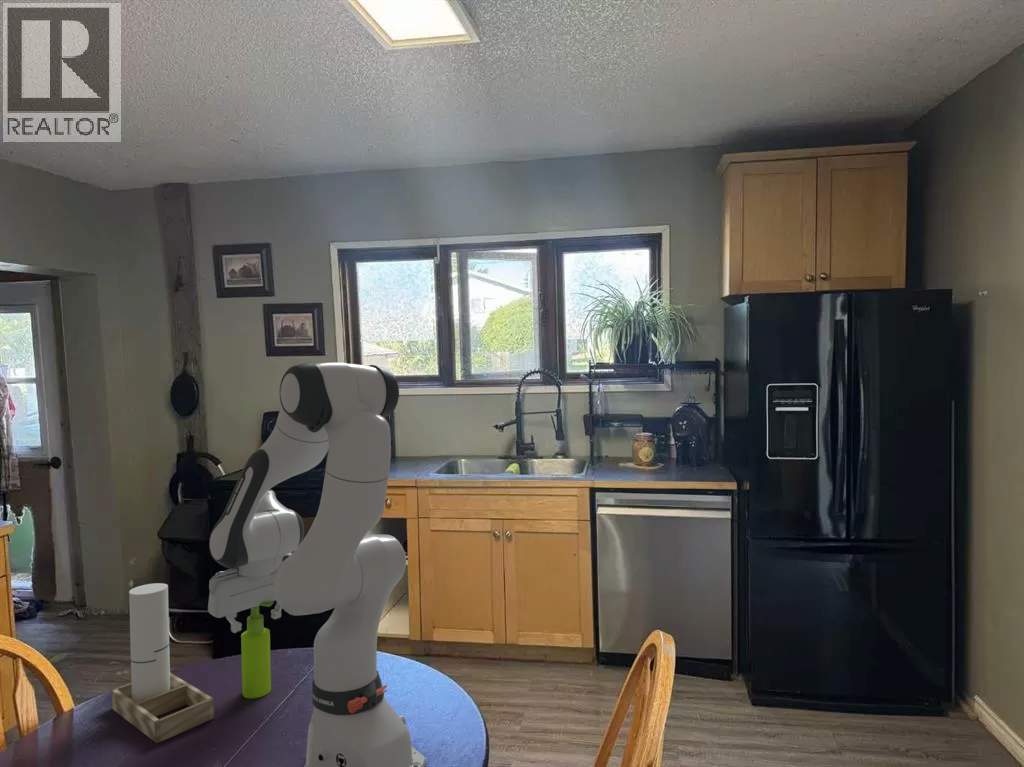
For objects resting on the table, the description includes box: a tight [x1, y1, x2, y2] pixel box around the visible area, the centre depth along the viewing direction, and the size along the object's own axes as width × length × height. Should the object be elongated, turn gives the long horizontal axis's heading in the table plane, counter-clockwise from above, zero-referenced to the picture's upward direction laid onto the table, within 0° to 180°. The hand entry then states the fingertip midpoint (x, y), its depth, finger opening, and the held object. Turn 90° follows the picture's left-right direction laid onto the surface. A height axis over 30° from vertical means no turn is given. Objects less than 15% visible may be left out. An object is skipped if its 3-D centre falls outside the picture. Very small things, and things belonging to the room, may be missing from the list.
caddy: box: [110, 672, 215, 744], centre depth 132 cm, size 21×11×4 cm, turn 52°
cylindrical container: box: [128, 582, 171, 703], centre depth 135 cm, size 7×7×25 cm
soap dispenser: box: [240, 601, 275, 699], centre depth 141 cm, size 6×7×20 cm
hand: (256, 624), depth 141 cm, fingers open, 8 cm apart
